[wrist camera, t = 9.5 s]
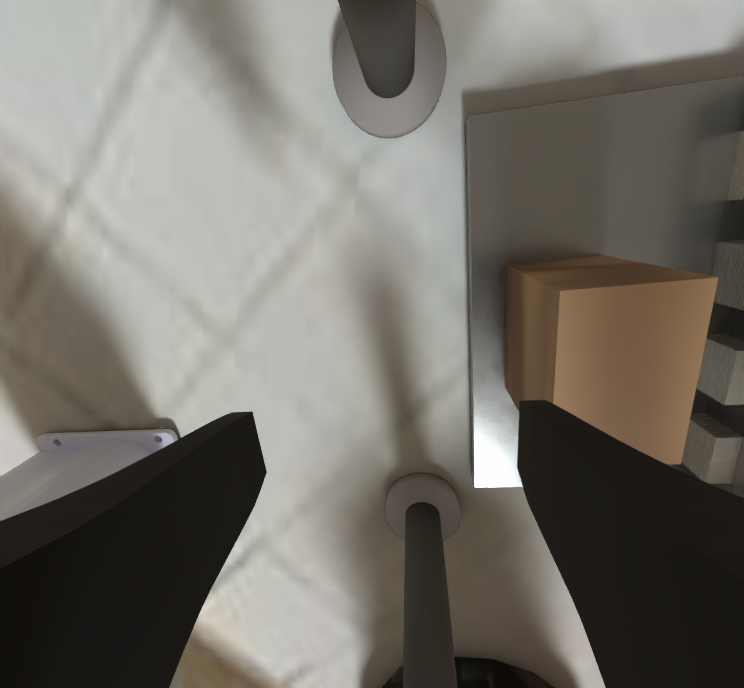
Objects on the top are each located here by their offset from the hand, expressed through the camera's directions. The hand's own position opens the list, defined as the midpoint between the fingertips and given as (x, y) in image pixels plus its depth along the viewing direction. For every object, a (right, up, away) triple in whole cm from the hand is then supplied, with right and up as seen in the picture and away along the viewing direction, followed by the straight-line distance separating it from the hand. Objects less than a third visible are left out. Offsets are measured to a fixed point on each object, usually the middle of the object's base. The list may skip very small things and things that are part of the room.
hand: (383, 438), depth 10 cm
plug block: (+8, +3, +7) cm, 11 cm away
